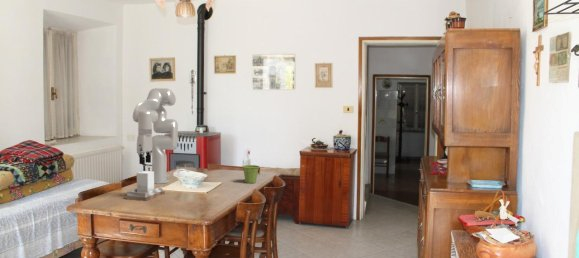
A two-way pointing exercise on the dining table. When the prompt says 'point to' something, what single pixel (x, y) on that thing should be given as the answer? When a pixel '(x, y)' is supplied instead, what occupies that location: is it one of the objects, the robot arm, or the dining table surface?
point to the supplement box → (145, 181)
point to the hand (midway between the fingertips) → (145, 163)
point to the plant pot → (250, 173)
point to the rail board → (144, 194)
